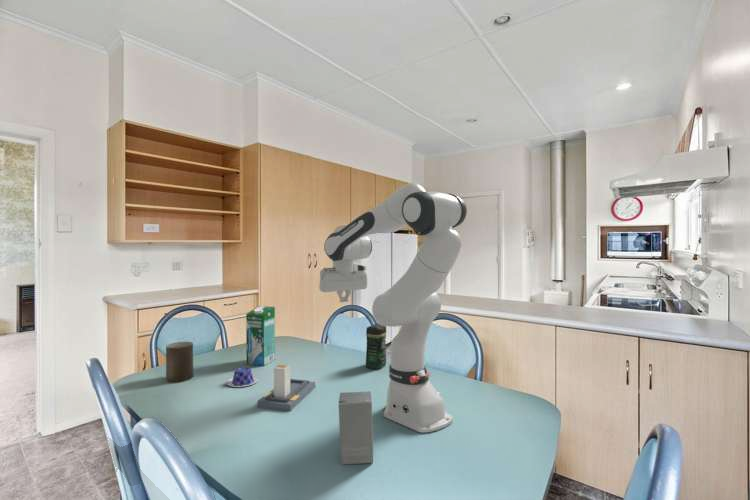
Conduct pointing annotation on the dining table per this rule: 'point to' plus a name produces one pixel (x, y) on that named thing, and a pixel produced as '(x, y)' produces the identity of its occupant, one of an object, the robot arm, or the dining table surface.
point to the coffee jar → (376, 346)
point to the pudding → (242, 378)
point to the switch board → (297, 394)
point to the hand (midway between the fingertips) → (344, 301)
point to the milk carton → (260, 335)
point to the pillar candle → (179, 361)
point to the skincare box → (355, 428)
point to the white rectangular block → (281, 381)
